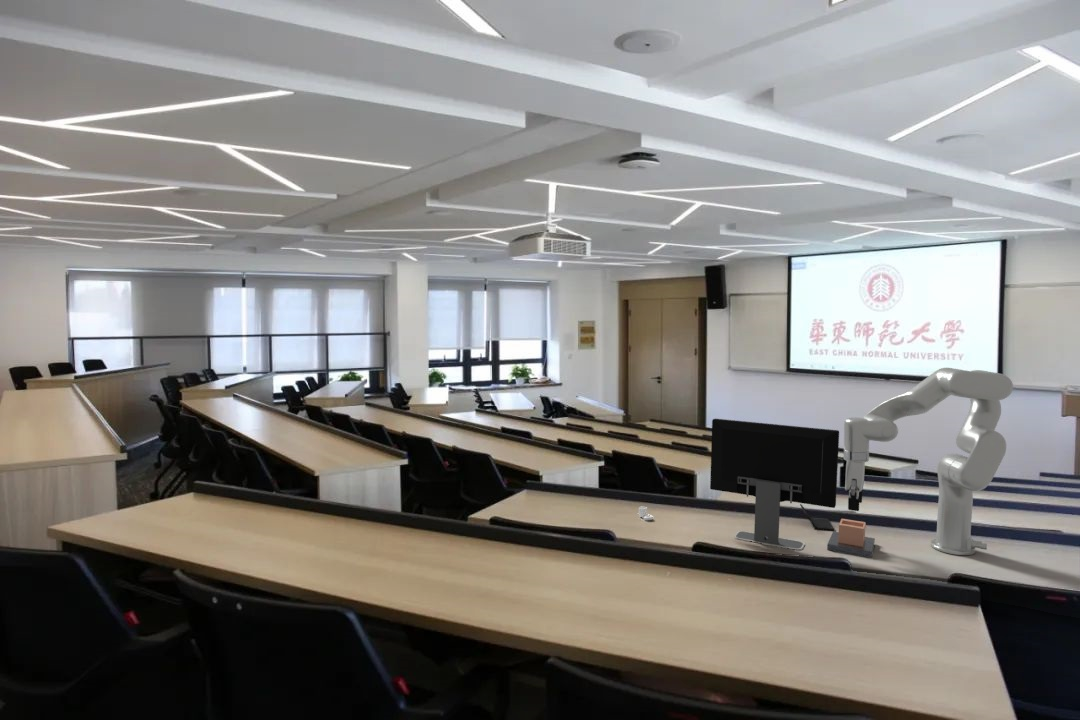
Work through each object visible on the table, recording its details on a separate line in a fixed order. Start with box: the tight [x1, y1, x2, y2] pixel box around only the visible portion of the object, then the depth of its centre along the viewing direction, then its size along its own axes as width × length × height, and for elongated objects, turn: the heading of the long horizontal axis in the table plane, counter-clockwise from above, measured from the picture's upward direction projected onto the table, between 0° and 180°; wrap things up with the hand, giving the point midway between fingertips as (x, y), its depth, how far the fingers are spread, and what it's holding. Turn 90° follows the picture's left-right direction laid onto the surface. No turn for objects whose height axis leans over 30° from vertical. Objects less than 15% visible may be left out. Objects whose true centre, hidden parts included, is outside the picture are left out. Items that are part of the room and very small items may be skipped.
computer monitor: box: [709, 418, 840, 551], centre depth 225 cm, size 41×8×40 cm, turn 59°
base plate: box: [826, 530, 876, 558], centre depth 221 cm, size 13×14×7 cm
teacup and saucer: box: [638, 505, 654, 521], centre depth 250 cm, size 9×8×4 cm
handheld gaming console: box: [799, 503, 835, 532], centre depth 243 cm, size 13×8×11 cm
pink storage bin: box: [838, 518, 867, 547], centre depth 221 cm, size 7×7×6 cm
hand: (855, 506), depth 220 cm, fingers open, 9 cm apart
